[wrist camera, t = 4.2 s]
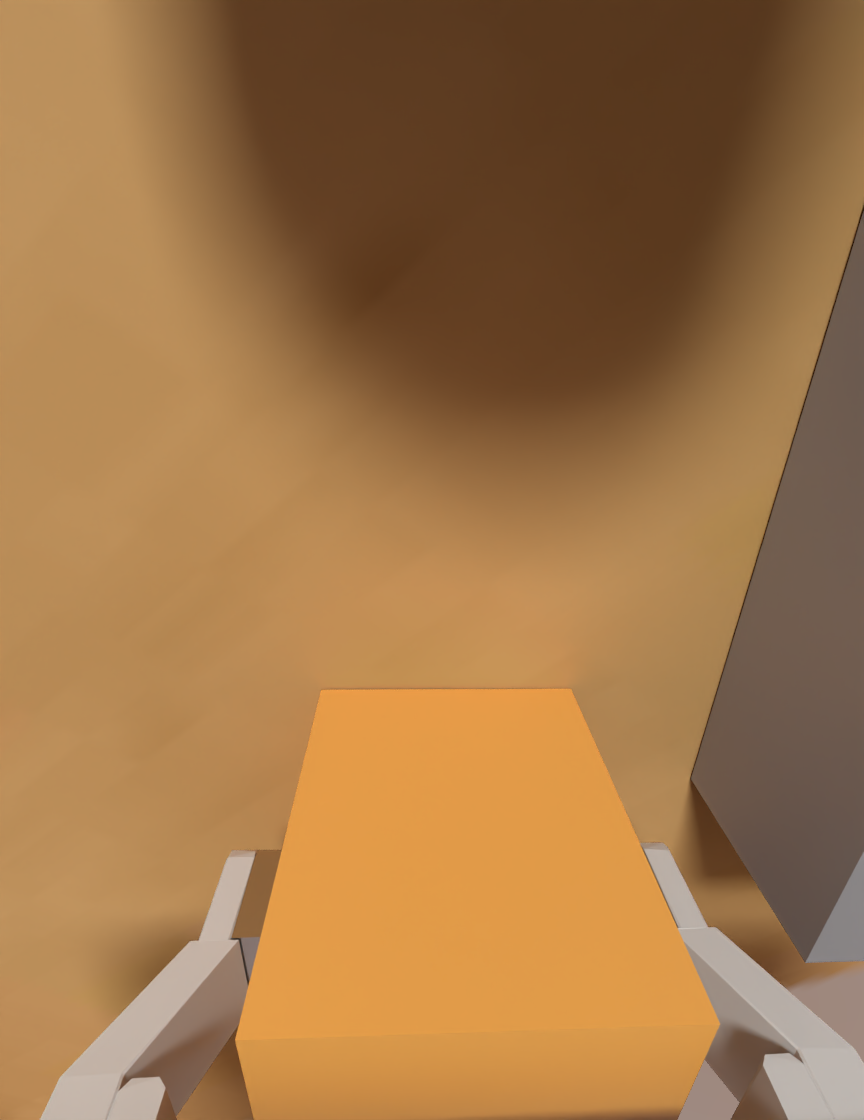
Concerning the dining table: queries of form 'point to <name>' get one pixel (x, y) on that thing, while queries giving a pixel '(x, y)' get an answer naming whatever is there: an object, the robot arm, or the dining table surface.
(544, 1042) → the matte orange cube
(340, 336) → the dining table surface
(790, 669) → the box
